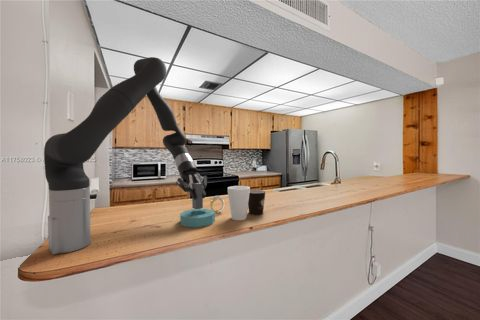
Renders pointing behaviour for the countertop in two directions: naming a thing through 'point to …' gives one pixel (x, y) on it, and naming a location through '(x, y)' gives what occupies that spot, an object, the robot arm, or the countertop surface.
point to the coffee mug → (256, 202)
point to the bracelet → (215, 200)
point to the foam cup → (238, 201)
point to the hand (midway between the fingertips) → (200, 197)
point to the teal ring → (197, 217)
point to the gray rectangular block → (199, 191)
